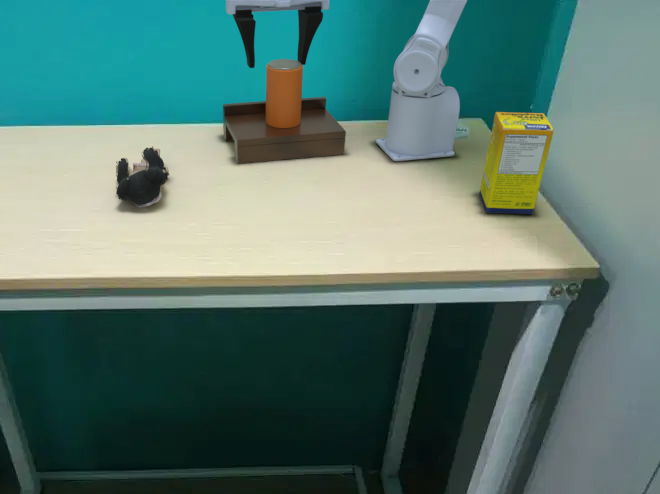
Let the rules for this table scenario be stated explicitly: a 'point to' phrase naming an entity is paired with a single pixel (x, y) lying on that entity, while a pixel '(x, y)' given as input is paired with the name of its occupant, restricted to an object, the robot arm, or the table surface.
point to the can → (283, 93)
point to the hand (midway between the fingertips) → (276, 64)
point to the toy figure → (142, 178)
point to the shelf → (282, 132)
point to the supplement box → (515, 162)
